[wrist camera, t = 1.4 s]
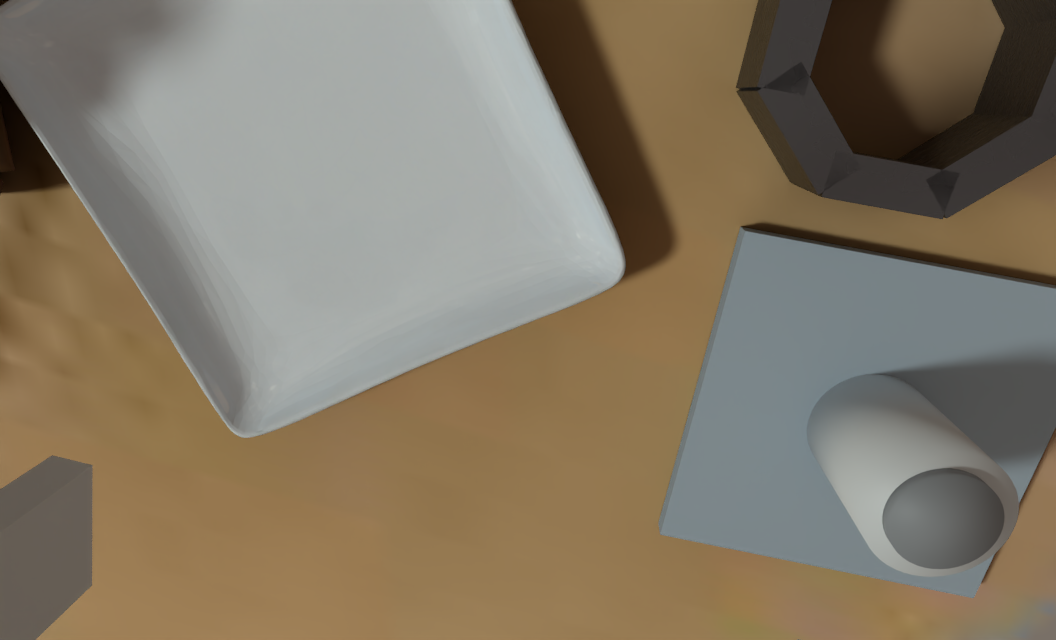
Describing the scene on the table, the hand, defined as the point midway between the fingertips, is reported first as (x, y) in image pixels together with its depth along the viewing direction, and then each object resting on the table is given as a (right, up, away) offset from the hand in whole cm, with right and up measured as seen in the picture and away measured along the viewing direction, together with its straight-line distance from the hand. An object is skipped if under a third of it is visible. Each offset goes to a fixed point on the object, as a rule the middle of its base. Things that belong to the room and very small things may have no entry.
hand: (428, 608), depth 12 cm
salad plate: (-7, +13, +19) cm, 24 cm away
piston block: (+18, +1, +20) cm, 27 cm away
